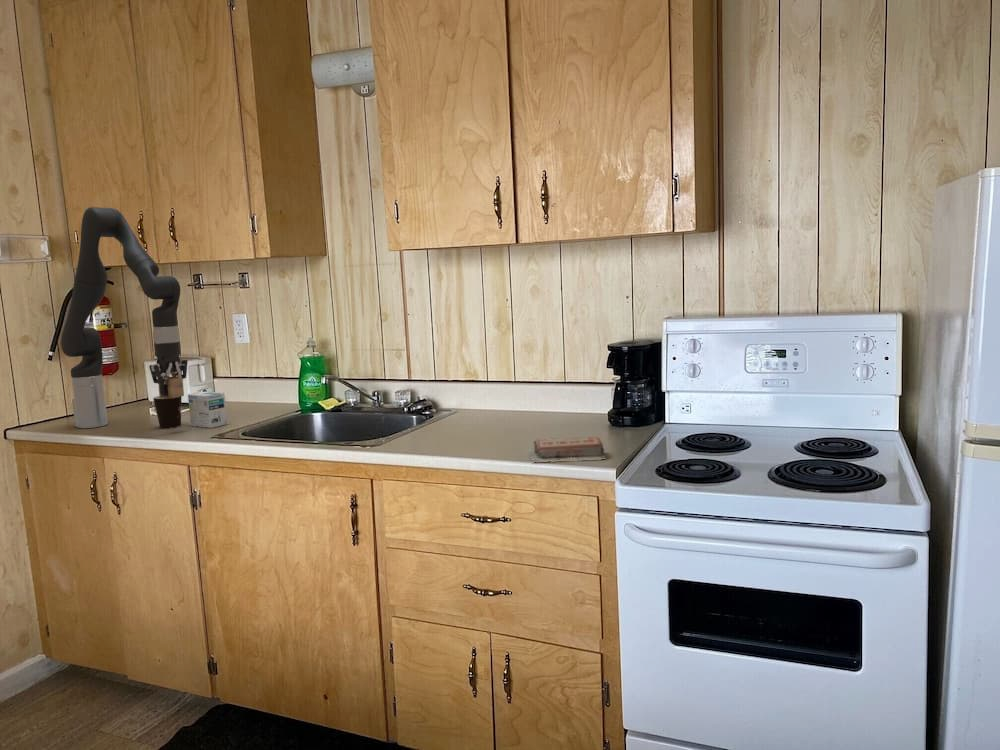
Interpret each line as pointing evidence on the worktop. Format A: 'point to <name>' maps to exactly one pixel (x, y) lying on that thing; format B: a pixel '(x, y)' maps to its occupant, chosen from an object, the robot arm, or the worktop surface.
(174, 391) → the walnut block
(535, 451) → the packaged product
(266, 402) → the worktop surface
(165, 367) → the robot arm
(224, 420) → the light bulb box
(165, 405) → the coffee mug
